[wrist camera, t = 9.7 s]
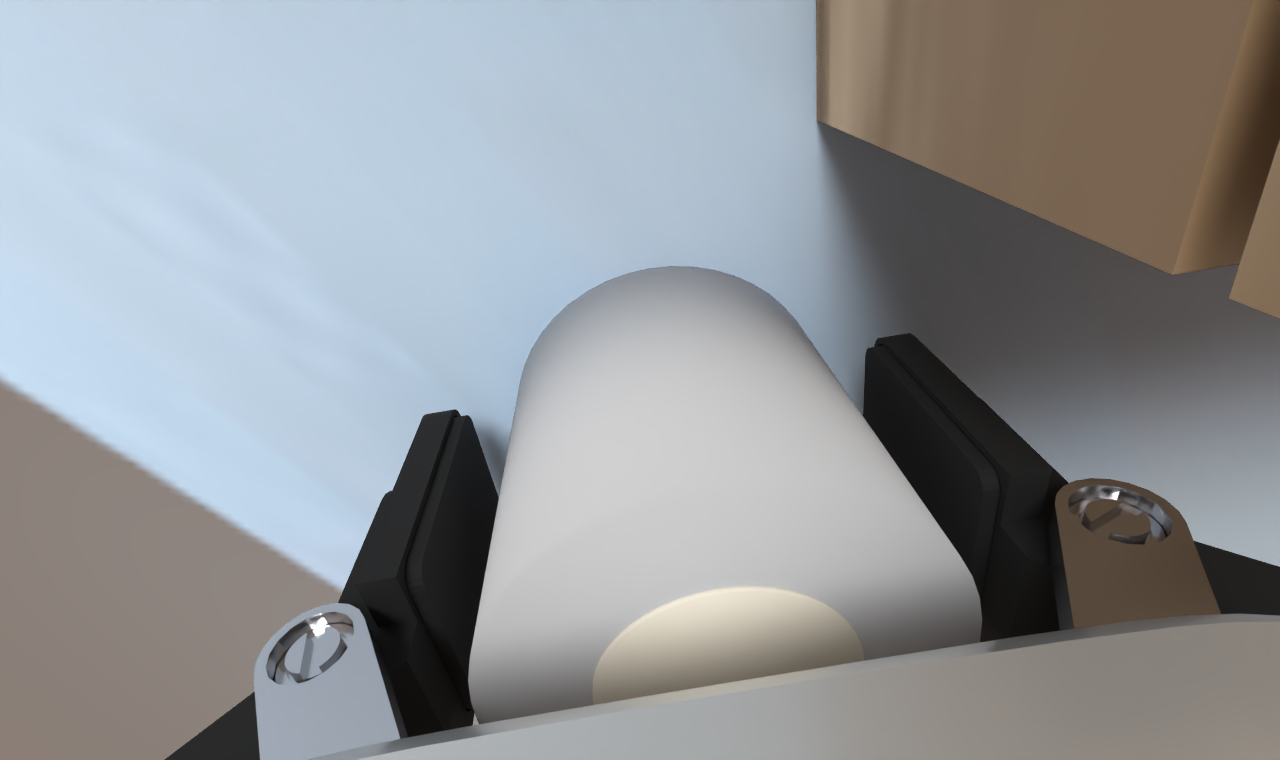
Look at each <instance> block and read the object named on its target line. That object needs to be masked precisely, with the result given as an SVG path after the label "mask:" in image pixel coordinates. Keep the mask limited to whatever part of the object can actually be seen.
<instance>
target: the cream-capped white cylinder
mask: <svg viewBox="0 0 1280 760" xmlns="http://www.w3.org/2000/svg"><path fill="white" fill-rule="evenodd" d="M981 627H982V613H981V604H980V597H979V594H978V591H977V588H976V585H975V582H974V579H973V576H972V575H971V573H970V571H969V570H968V568H967V566H966V565H965V563H964V561H963V560H962V558H961V556H960V555H959V553H958V552H957V551H956V549H955V548H954V546H953V545H952V543H951V542H950V541H949V539H948V538H947V536H946V535H945V533H944V532H943V531H942V529H941V528H940V526H939V525H938V523H937V522H936V520H935V519H934V518H933V516H932V515H931V513H930V512H929V510H928V509H927V508H926V506H925V505H924V503H923V502H922V500H921V499H920V498H919V496H918V495H917V493H916V492H915V490H914V489H913V487H912V486H911V485H910V483H909V482H908V480H907V479H906V477H905V476H904V475H903V473H902V472H901V470H900V469H899V467H898V466H897V464H896V463H895V462H894V460H893V459H892V457H891V456H890V454H889V453H888V452H887V450H886V449H885V447H884V446H883V444H882V443H881V442H880V440H879V439H878V437H877V436H876V434H875V433H874V431H873V430H872V429H871V427H870V426H869V424H868V423H867V421H866V420H865V419H864V417H863V416H862V414H861V413H860V411H859V410H858V409H857V407H856V406H855V404H854V403H853V401H852V400H851V398H850V397H849V396H848V394H847V393H846V391H845V390H844V388H843V387H842V386H841V384H840V383H839V381H838V380H837V378H836V377H835V375H834V374H833V373H832V371H831V370H830V368H829V367H828V365H827V364H826V363H825V361H824V360H823V358H822V357H821V355H820V354H819V353H818V351H817V350H816V348H815V347H814V345H813V344H812V342H811V341H810V340H809V338H808V337H807V335H806V334H805V332H804V331H803V330H802V328H801V327H800V325H799V324H798V322H797V321H796V320H795V319H794V317H793V316H792V315H791V314H790V313H789V312H788V311H787V309H786V308H785V307H784V306H783V305H782V304H780V303H779V302H778V301H777V300H776V299H775V298H773V297H772V296H771V295H770V294H768V293H767V292H765V291H763V290H762V289H760V288H759V287H757V286H755V285H754V284H752V283H750V282H747V281H745V280H743V279H741V278H738V277H736V276H733V275H730V274H727V273H723V272H720V271H716V270H711V269H705V268H698V267H680V266H669V267H660V268H650V269H645V270H641V271H637V272H632V273H628V274H625V275H622V276H620V277H617V278H614V279H611V280H609V281H606V282H604V283H602V284H600V285H598V286H597V287H595V288H593V289H591V290H589V291H587V292H586V293H584V294H583V295H581V296H580V297H578V298H577V299H576V300H574V301H573V302H571V303H570V304H569V305H568V306H566V307H565V308H564V309H563V310H562V311H561V312H560V313H559V314H558V315H557V316H556V317H554V319H553V320H552V321H551V322H550V323H549V325H548V326H547V327H546V328H545V329H544V331H543V332H542V333H541V335H540V336H539V338H538V340H537V341H536V343H535V344H534V346H533V348H532V349H531V352H530V354H529V356H528V359H527V361H526V363H525V366H524V369H523V373H522V377H521V381H520V385H519V390H518V396H517V401H516V407H515V412H514V418H513V423H512V429H511V434H510V440H509V445H508V451H507V456H506V462H505V467H504V473H503V478H502V484H501V489H500V495H499V500H498V506H497V511H496V517H495V522H494V528H493V533H492V539H491V544H490V550H489V555H488V561H487V566H486V572H485V577H484V583H483V588H482V594H481V599H480V605H479V610H478V616H477V621H476V627H475V632H474V638H473V643H472V649H471V654H470V661H469V675H468V684H469V691H470V698H471V704H472V706H473V709H474V712H475V715H476V717H477V720H478V723H479V724H485V723H491V722H496V721H502V720H508V719H514V718H520V717H526V716H532V715H538V714H544V713H550V712H556V711H562V710H567V709H573V708H579V707H585V706H591V705H597V704H603V703H609V702H615V701H621V700H627V699H633V698H639V697H645V696H651V695H657V694H663V693H669V692H675V691H681V690H687V689H693V688H699V687H705V686H712V685H718V684H724V683H730V682H736V681H742V680H748V679H754V678H761V677H767V676H773V675H779V674H785V673H791V672H798V671H804V670H810V669H816V668H822V667H828V666H835V665H841V664H847V663H853V662H860V661H866V660H872V659H879V658H885V657H891V656H898V655H904V654H910V653H917V652H923V651H929V650H936V649H942V648H948V647H955V646H961V645H967V644H974V643H980V638H981Z"/></svg>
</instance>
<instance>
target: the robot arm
mask: <svg viewBox="0 0 1280 760" xmlns="http://www.w3.org/2000/svg"><path fill="white" fill-rule="evenodd" d="M863 417H864V419H865V420H866V421H867V423H868V424H869V426H870V427H871V429H872V430H873V431H874V433H875V434H876V436H877V437H878V439H879V440H880V442H881V443H882V444H883V446H884V447H885V449H886V450H887V452H888V453H889V454H890V456H891V457H892V459H893V460H894V462H895V463H896V464H897V466H898V467H899V469H900V470H901V472H902V473H903V475H904V476H905V477H906V479H907V480H908V482H909V483H910V485H911V486H912V487H913V489H914V490H915V492H916V493H917V495H918V496H919V498H920V499H921V500H922V502H923V503H924V505H925V506H926V508H927V509H928V510H929V512H930V513H931V515H932V516H933V518H934V519H935V520H936V522H937V523H938V525H939V526H940V528H941V529H942V531H943V532H944V533H945V535H946V536H947V538H948V539H949V541H950V542H951V543H952V545H953V546H954V548H955V549H956V551H957V552H958V553H959V555H960V556H961V558H962V560H963V561H964V563H965V565H966V566H967V568H968V570H969V571H970V573H971V575H972V576H973V579H974V582H975V585H976V588H977V591H978V594H979V597H980V604H981V613H982V627H981V638H980V643H974V644H967V645H961V646H955V647H948V648H942V649H936V650H929V651H923V652H917V653H910V654H904V655H898V656H891V657H885V658H879V659H872V660H866V661H860V662H853V663H847V664H841V665H835V666H828V667H822V668H816V669H810V670H804V671H798V672H791V673H785V674H779V675H773V676H767V677H761V678H754V679H748V680H742V681H736V682H730V683H724V684H718V685H712V686H705V687H699V688H693V689H687V690H681V691H675V692H669V693H663V694H657V695H651V696H645V697H639V698H633V699H627V700H621V701H615V702H609V703H603V704H597V705H591V706H585V707H579V708H573V709H567V710H562V711H556V712H550V713H544V714H538V715H532V716H526V717H520V718H514V719H508V720H502V721H496V722H491V723H485V724H479V725H473V718H474V713H475V712H474V709H473V706H472V704H471V698H470V691H469V684H468V675H469V661H470V654H471V649H472V643H473V638H474V632H475V627H476V621H477V616H478V610H479V605H480V599H481V594H482V588H483V583H484V577H485V572H486V566H487V561H488V555H489V550H490V544H491V539H492V533H493V528H494V522H495V517H496V511H497V506H498V500H499V498H498V495H497V492H496V489H495V486H494V483H493V480H492V477H491V474H490V471H489V468H488V466H487V463H486V460H485V457H484V454H483V451H482V448H481V445H480V442H479V439H478V437H477V434H476V431H475V428H474V425H473V422H472V420H471V418H470V417H469V416H468V415H466V416H461V415H460V414H459V412H458V411H457V410H449V411H443V412H437V413H431V414H426V415H424V416H423V418H422V420H421V423H420V425H419V427H418V430H417V432H416V435H415V437H414V440H413V442H412V445H411V447H410V449H409V452H408V454H407V457H406V459H405V462H404V464H403V466H402V469H401V471H400V474H399V476H398V479H397V481H396V484H395V486H394V488H393V491H390V492H388V493H386V494H385V496H384V497H383V499H382V501H381V503H380V505H379V508H378V510H377V512H376V515H375V517H374V519H373V522H372V524H371V526H370V529H369V531H368V534H367V536H366V538H365V541H364V543H363V545H362V548H361V550H360V552H359V555H358V557H357V559H356V562H355V564H354V567H353V569H352V571H351V574H350V576H349V578H348V581H347V583H346V585H345V588H344V590H343V592H342V595H341V597H340V600H339V602H338V603H333V604H328V605H323V606H319V607H317V608H314V609H311V610H309V611H306V612H304V613H302V614H301V615H299V616H298V617H296V618H295V619H293V620H291V621H289V622H288V623H287V624H286V625H284V626H283V627H282V628H281V629H280V630H279V631H278V632H276V633H275V634H274V635H273V636H272V638H271V639H270V640H269V641H268V643H267V644H266V645H265V646H264V647H263V649H262V651H261V653H260V655H259V657H258V659H257V661H256V663H255V670H254V689H255V692H253V693H252V694H251V695H250V696H248V697H247V698H245V699H244V700H243V701H242V702H241V703H239V704H238V705H236V706H235V707H234V708H232V709H231V710H230V711H228V712H227V713H226V714H224V715H223V716H222V717H220V718H219V719H218V720H216V721H215V722H214V723H213V724H211V725H210V726H208V727H207V728H206V729H204V730H203V731H202V732H201V733H199V734H198V735H197V736H195V737H194V738H193V739H191V740H190V741H189V742H187V743H186V744H185V745H183V746H182V747H181V748H180V749H178V750H177V751H175V752H174V753H173V754H171V755H170V756H169V757H168V758H166V759H165V760H1280V567H1278V566H1275V565H1272V564H1268V563H1265V562H1262V561H1258V560H1255V559H1252V558H1248V557H1245V556H1242V555H1239V554H1235V553H1232V552H1229V551H1225V550H1222V549H1219V548H1215V547H1212V546H1209V545H1205V544H1202V543H1199V542H1196V541H1193V539H1192V536H1191V533H1190V531H1189V528H1188V526H1187V523H1186V521H1185V520H1184V518H1183V517H1182V515H1181V514H1180V512H1179V511H1178V510H1177V509H1176V508H1175V507H1173V506H1172V505H1171V504H1170V503H1169V502H1168V501H1166V500H1165V499H1163V498H1161V497H1160V496H1158V495H1156V494H1154V493H1152V492H1151V491H1149V490H1146V489H1144V488H1141V487H1138V486H1135V485H1133V484H1130V483H1126V482H1121V481H1116V480H1111V479H1094V478H1090V479H1083V480H1077V481H1073V482H1071V483H1068V482H1067V481H1066V480H1065V479H1064V478H1063V477H1062V476H1061V475H1060V474H1059V473H1058V472H1057V471H1056V470H1055V469H1054V468H1053V467H1052V466H1051V465H1049V464H1048V463H1047V462H1046V461H1045V460H1044V459H1043V458H1042V457H1041V456H1040V455H1039V454H1038V453H1037V452H1036V451H1035V450H1034V449H1033V448H1032V447H1031V446H1030V445H1029V444H1028V443H1027V442H1025V441H1024V440H1023V439H1022V438H1021V437H1020V436H1019V435H1018V434H1017V433H1016V432H1015V431H1014V430H1013V429H1012V428H1011V427H1010V426H1009V425H1008V424H1007V423H1006V422H1005V421H1004V420H1003V419H1001V418H1000V417H999V416H998V415H997V414H996V413H995V412H994V411H993V410H992V409H991V408H990V407H989V406H988V405H987V404H986V403H985V402H984V401H983V400H982V399H980V398H979V397H977V396H976V395H975V394H974V393H973V392H972V391H971V390H970V389H969V388H968V387H967V386H966V385H965V384H964V383H963V382H962V381H961V380H960V379H959V378H958V377H957V376H956V375H955V374H953V373H952V372H951V371H950V370H949V369H948V368H947V367H946V366H945V365H944V364H943V363H942V362H941V361H940V360H939V359H938V358H937V357H936V356H935V355H934V354H933V353H932V352H931V351H930V350H928V349H927V348H926V347H925V346H924V345H923V344H922V343H921V342H920V341H919V340H918V339H917V338H916V337H915V336H914V335H912V334H911V333H908V334H902V335H896V336H890V337H884V338H878V339H877V340H876V343H875V346H874V347H871V348H868V349H867V351H866V356H865V382H864V409H863ZM472 725H473V726H472Z"/></svg>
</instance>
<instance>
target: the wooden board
mask: <svg viewBox="0 0 1280 760" xmlns="http://www.w3.org/2000/svg"><path fill="white" fill-rule="evenodd" d="M1229 299H1231V300H1234V301H1236V302H1239V303H1241V304H1244V305H1246V306H1249V307H1251V308H1254V309H1256V310H1259V311H1261V312H1264V313H1266V314H1269V315H1271V316H1274V317H1276V318H1279V319H1280V140H1279V143H1278V146H1277V149H1276V152H1275V155H1274V159H1273V162H1272V165H1271V168H1270V171H1269V174H1268V177H1267V180H1266V183H1265V187H1264V190H1263V193H1262V196H1261V199H1260V202H1259V205H1258V208H1257V212H1256V215H1255V218H1254V221H1253V224H1252V227H1251V230H1250V233H1249V236H1248V240H1247V243H1246V246H1245V249H1244V252H1243V255H1242V258H1241V261H1240V265H1239V268H1238V271H1237V274H1236V277H1235V280H1234V283H1233V286H1232V289H1231V293H1230V296H1229Z"/></svg>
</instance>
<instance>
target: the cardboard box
mask: <svg viewBox="0 0 1280 760" xmlns="http://www.w3.org/2000/svg"><path fill="white" fill-rule="evenodd" d="M816 6H817V120H818V121H820V122H823V123H825V124H827V125H830V126H832V127H834V128H837V129H839V130H841V131H843V132H846V133H848V134H850V135H853V136H855V137H857V138H859V139H862V140H864V141H866V142H869V143H871V144H873V145H875V146H878V147H880V148H882V149H885V150H887V151H889V152H892V153H894V154H896V155H898V156H901V157H903V158H905V159H908V160H910V161H912V162H914V163H917V164H919V165H921V166H924V167H926V168H928V169H930V170H933V171H935V172H937V173H940V174H942V175H944V176H946V177H949V178H951V179H953V180H956V181H958V182H960V183H963V184H965V185H967V186H969V187H972V188H974V189H976V190H979V191H981V192H983V193H985V194H988V195H990V196H992V197H995V198H997V199H999V200H1001V201H1004V202H1006V203H1008V204H1011V205H1013V206H1015V207H1018V208H1020V209H1022V210H1024V211H1027V212H1029V213H1031V214H1034V215H1036V216H1038V217H1040V218H1043V219H1045V220H1047V221H1050V222H1052V223H1054V224H1056V225H1059V226H1061V227H1063V228H1066V229H1068V230H1070V231H1072V232H1075V233H1077V234H1079V235H1082V236H1084V237H1086V238H1089V239H1091V240H1093V241H1095V242H1098V243H1100V244H1102V245H1105V246H1107V247H1109V248H1111V249H1114V250H1116V251H1118V252H1121V253H1123V254H1125V255H1127V256H1130V257H1132V258H1134V259H1137V260H1139V261H1141V262H1144V263H1146V264H1148V265H1150V266H1153V267H1155V268H1157V269H1160V270H1162V271H1164V272H1166V273H1169V274H1171V275H1175V274H1181V273H1187V272H1193V271H1199V270H1205V269H1211V268H1217V267H1223V266H1229V265H1235V264H1240V261H1241V258H1242V255H1243V252H1244V249H1245V246H1246V243H1247V240H1248V236H1249V233H1250V230H1251V227H1252V224H1253V221H1254V218H1255V215H1256V212H1257V208H1258V205H1259V202H1260V199H1261V196H1262V193H1263V190H1264V187H1265V183H1266V180H1267V177H1268V174H1269V171H1270V168H1271V165H1272V162H1273V159H1274V155H1275V152H1276V149H1277V146H1278V143H1279V140H1280V0H816Z"/></svg>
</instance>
